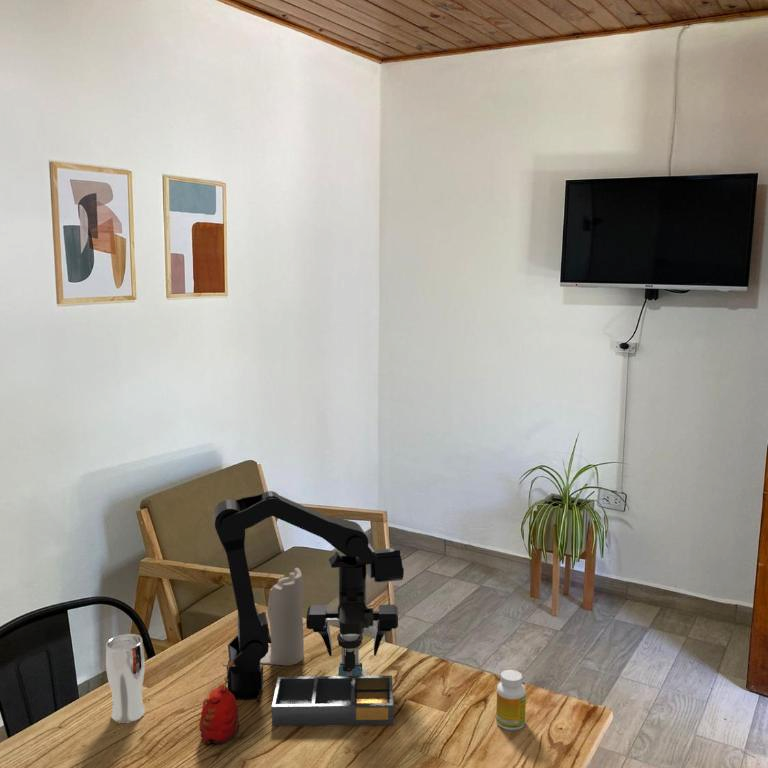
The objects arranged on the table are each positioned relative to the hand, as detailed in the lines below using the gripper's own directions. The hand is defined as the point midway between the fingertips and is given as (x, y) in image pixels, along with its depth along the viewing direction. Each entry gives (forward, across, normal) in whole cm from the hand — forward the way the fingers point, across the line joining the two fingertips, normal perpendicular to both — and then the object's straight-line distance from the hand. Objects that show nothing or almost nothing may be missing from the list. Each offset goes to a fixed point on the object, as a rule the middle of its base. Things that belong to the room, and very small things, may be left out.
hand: (352, 655), depth 163 cm
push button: (+5, 0, 0) cm, 5 cm away
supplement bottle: (+5, +30, -17) cm, 35 cm away
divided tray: (+5, -3, -12) cm, 13 cm away
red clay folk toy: (+5, -24, -20) cm, 32 cm away
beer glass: (+5, -43, -13) cm, 45 cm away
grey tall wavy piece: (+5, -18, +9) cm, 21 cm away
